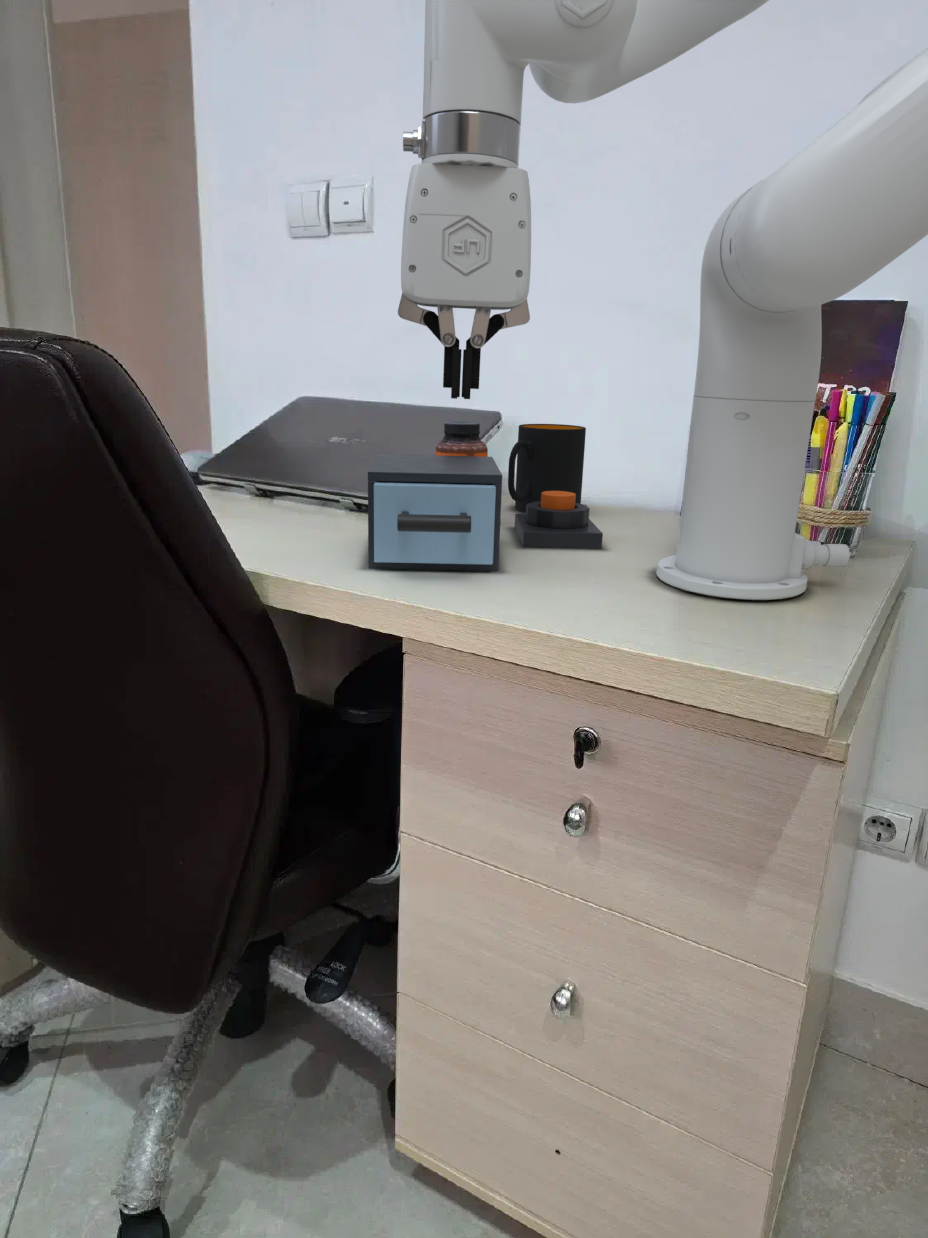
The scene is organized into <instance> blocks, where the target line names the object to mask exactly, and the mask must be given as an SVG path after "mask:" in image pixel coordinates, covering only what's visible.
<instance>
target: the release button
mask: <svg viewBox="0 0 928 1238" xmlns="http://www.w3.org/2000/svg"><path fill="white" fill-rule="evenodd" d="M575 498H576V494H575V493H572V492H566V491H544V492H542V493H541V507H542V508H547V509H558V510H568V509H575Z"/></svg>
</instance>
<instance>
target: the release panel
mask: <svg viewBox="0 0 928 1238" xmlns="http://www.w3.org/2000/svg"><path fill="white" fill-rule="evenodd" d="M514 530H515V532H516V535H517V537H518V539H519V542H520V544H521V546H522V548H524V549H563V550H566V549H567V550H568V549H569V550H602V549H603V538H604V537H603V536H604V535H603V534H604V533H603V532H602V531H601V529H599V528H598V526H596V525H595V523H593V521H592V520H591V519H590V506H589V505H587V504H583V503H581V504H579V503H575V509H568V510H558V509H547V508H542V507H541V501H538V502H532V503H529V504H526V513H515V514H514Z"/></svg>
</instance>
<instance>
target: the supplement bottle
mask: <svg viewBox="0 0 928 1238" xmlns="http://www.w3.org/2000/svg"><path fill="white" fill-rule="evenodd" d="M480 427H481V423H480V422H478V421H474V420H449V421H445V422H444V425H443V428H444V430H443V434H444V436H443V437H442V438H441V440H440V441H439V442H438V443H437V444H436V446H435V455H441V456H480V457H489V456H488V455H489V451H488V449H489V448H488V446H487V444H486V443H485V442H484V441H482V439H481V438H480V434H481V430H480V429H481V428H480Z"/></svg>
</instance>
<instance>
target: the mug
mask: <svg viewBox="0 0 928 1238" xmlns="http://www.w3.org/2000/svg"><path fill="white" fill-rule="evenodd" d="M517 433H518V434H517V442H515V444H514V445H513V447H512V449H511V450H510V454H509V458H508V472H507V473H508V474H507V488H508V493H509V496H510V498H511V499H512V500H513V501H514V508H515V510H516V511H517V512H520V513H522V514H526V504H529V503H532V502H538V501H541V493H542V492H544V491H566V492H572V493H575V494H576V498H575V503H579V504H582V490H583V477H584V463H585V462H584V461H585V451H586V450H585V449H586V436H587V435H586V433H587V427H585V426H581V425H575V424H562V423H561V424H560V423H559V424H557V423H524V424H523V423H522V424H519V425H518V432H517ZM515 470H516V471H515ZM515 472H516V473H515ZM515 474H516V475H515ZM515 477H516V478H515Z"/></svg>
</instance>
